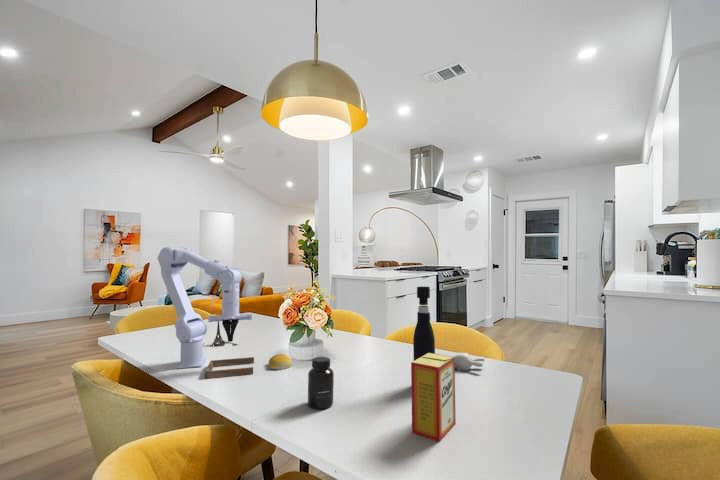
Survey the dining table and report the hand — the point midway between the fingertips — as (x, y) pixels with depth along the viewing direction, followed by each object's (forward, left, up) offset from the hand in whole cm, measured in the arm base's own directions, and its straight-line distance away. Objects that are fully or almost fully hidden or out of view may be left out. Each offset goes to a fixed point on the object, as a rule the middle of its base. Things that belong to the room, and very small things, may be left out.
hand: (230, 341), depth 123 cm
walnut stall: (+2, +1, -9) cm, 10 cm away
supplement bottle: (+39, +26, -10) cm, 48 cm away
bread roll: (+3, +17, -10) cm, 20 cm away
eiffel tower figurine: (-35, -7, -10) cm, 37 cm away
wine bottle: (+36, +58, -10) cm, 69 cm away
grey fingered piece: (+24, +78, -10) cm, 82 cm away
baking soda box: (+59, +49, -10) cm, 77 cm away
